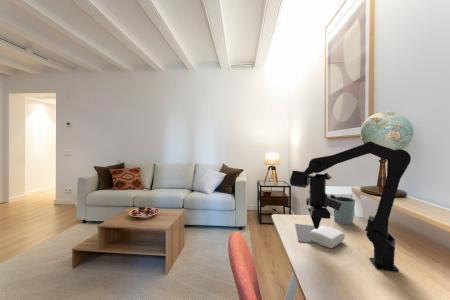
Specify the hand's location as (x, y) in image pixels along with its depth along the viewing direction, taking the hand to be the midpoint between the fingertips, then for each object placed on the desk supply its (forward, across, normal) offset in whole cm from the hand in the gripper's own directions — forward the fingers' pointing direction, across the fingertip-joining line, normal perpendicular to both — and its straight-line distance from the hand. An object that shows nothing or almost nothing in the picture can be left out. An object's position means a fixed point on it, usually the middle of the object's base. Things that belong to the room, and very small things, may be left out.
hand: (316, 228), depth 89 cm
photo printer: (+4, 0, -1) cm, 5 cm away
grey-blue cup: (+7, +33, -18) cm, 38 cm away
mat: (+7, +12, 0) cm, 14 cm away
